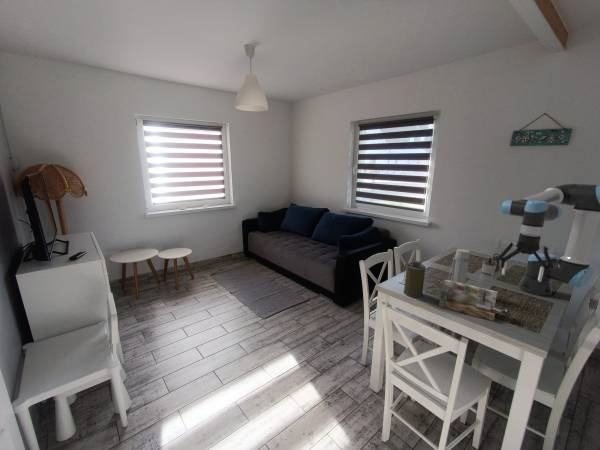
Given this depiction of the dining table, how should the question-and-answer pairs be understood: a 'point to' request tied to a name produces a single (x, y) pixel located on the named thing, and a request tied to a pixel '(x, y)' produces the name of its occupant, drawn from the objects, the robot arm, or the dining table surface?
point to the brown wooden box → (466, 299)
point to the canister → (414, 279)
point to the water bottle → (460, 266)
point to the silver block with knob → (489, 306)
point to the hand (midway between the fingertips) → (520, 277)
